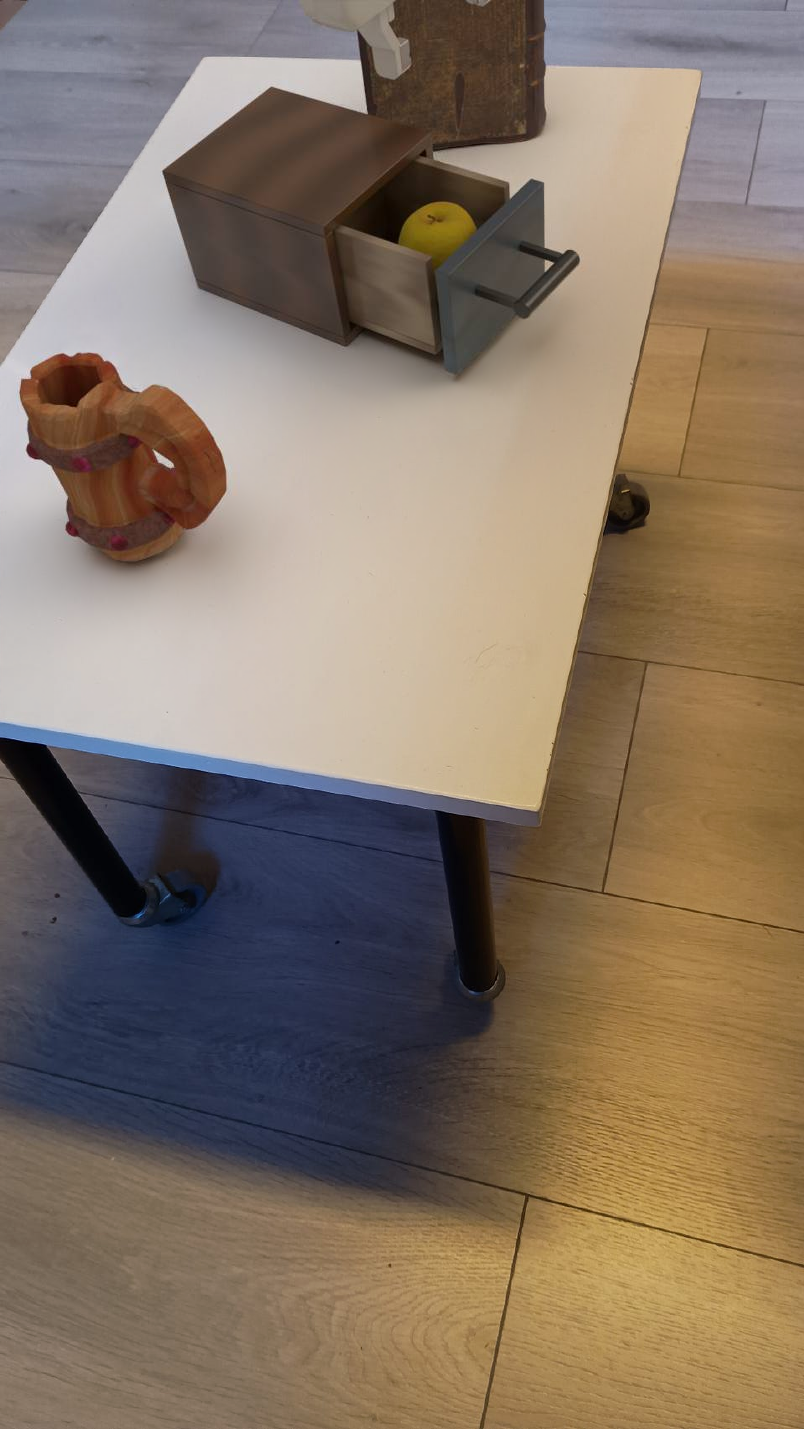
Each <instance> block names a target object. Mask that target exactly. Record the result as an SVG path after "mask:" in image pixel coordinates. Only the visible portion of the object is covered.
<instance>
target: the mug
mask: <svg viewBox="0 0 804 1429" xmlns="http://www.w3.org/2000/svg"><path fill="white" fill-rule="evenodd" d="M29 374H30V378H21V379H20V386H19V392H18V393H19V401H20V403H21V406H22V408H23V410H24V413H25V414H26V416H27V422H26V424H27V426H26V431H27V438H28V443H27V445H26V447H25V452H26V454H27V456H28V457H29V458H31V459H33V460H36V461H37V460H38V461H42V462H44V463H45V464H46V465H48V466H50V467H51V469H52V471H53V472H54V475H55V476H56V478H57V480H58V482H59V483H60V485H61V487H62V489H63V490H64V492H65V494H66V496H67V498H66V506H65V511H66V514H67V518H68V521H67V522H66V524H65V532H66V533H67V534H68V535H69V536H71V537H74V538H79V539H81V540H82V541H83V542H85V543H87V544H88V545H90V546H91V547H95V548H97V549H98V550H100V552H103V553H104V554H105V555H106V556H108V557H109V558H111V559H113V560H114V561H115V560H116V561H122V562H138V561H143V560H145V559H148V558H150V557H152V556H155V555H159V554H160V553H162V552H164V551H166V550H168V549H170V548H171V547H172V546H173V544H175V543H176V542H177V541H178V540H179V539H180V537H181V535H182V533H183V531H184V530H185V531H189V530H193V529H196V528H197V527H199V526H201V525H202V524H203V523H204V522H206V520H207V519H208V518H209V517H210V515H211V514H212V513H213V511H214V510H215V509H216V507H217V506H218V505H219V503H220V502H221V500H222V498H223V497H224V496H225V494H226V493H227V490H228V488H227V485H228V484H227V468H226V465H225V460H224V456H223V454H222V451H221V449H220V448H219V446H218V444H217V442H216V440H215V438H214V436H213V434H212V433H211V431H210V429H209V428H208V426H207V424H206V423H205V422H204V420H202V418H201V417H200V416H199V415H198V413H197V412H195V411H194V410H193V408H192V407H191V406H190V405H189V404H188V403H187V402H186V401H185V400H184V399H183V398H182V397H181V396H180V395H179V394H177V393H176V392H174V391H173V390H171V389H170V388H168V387H167V386H164V385H160V384H151V385H149V386H148V387H147V388H145V389H144V390H142V391H141V392H140V391H137V390H136V391H134V390H133V389H131V388H130V387H129V386H127V385H126V384H124V383H123V381H122V379H121V377H120V374H119V372H118V371H117V368H116V366H115V365H114V364H113V363H112V362H110V360H104V359H103V356H101V355H100V354H98V353H97V352H96V353H95V352H84V353H82V352H76V353H75V354H74V355H73V356H70V355H68V354H66V353H64V352H61V353H57V354H55V355H52V356H50V357H49V358H46V359H45V360H43V361H41V362H39V363H37V364H36V365H34V366H32V367H31V369H30V371H29ZM155 452H156V453H158V454H159V455H160V456H162V457H163V458H165V459H166V460H168V461H169V462H170V463H172V464H173V467H169V466H167V465H165V464H164V463H162V462H159V460H158V458H157V456H156V453H155Z"/></svg>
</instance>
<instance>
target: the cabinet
mask: <svg viewBox="0 0 804 1429" xmlns="http://www.w3.org/2000/svg"><path fill="white" fill-rule="evenodd" d="M418 155H419V156H423V157H426V158H429V159H433V160H435V158H434V149H433V146H432V137H431V132H428V131H424V130H421V129H417V128H414V127H410V126H407V125H403V124H400V123H396V122H393V121H389V120H386V119H382V118H379V117H375V116H372V115H368V113H366V112H365V113H364V112H361V111H357V110H355V109H352V108H351V109H350V108H348V107H345V106H340V105H337V104H333V103H331V102H328V101H327V102H326V101H323V100H319V99H316V98H312V97H309V96H306V95H302V94H299V93H295V92H292V91H288V90H285V89H282V88H278V87H274V86H270V87H268V88H267V89H266V90H265V91H263V92H262V93H260V94H259V95H258V96H257V97H255V98H254V99H253V100H251V101H250V102H248V104H246V105H245V106H244V107H243V108H241V109H240V110H238V111H237V112H236V113H235V114H233V115H232V116H231V117H229V118H227V120H226V121H224V122H223V123H222V124H220V125H219V126H218V127H217V128H215V129H214V130H213V131H212V132H210V133H209V134H208V135H206V136H205V137H203V138H202V139H201V140H200V141H198V142H197V143H196V144H195V145H194V146H192V147H190V149H189V148H188V150H187V151H185V152H184V153H183V154H182V155H180V156H179V157H178V158H176V159H175V160H174V161H172V162H171V163H170V164H169V165H167V166H166V167H165V168H163V169H162V170H161V174H162V175H163V179H164V183H165V187H166V189H167V192H168V196H169V200H170V202H171V206H172V208H173V212H174V215H175V219H176V222H177V224H178V228H179V232H180V234H181V238H182V241H183V244H184V247H185V251H186V254H187V257H188V260H189V264H190V267H191V271H192V273H193V277H194V279H195V283H196V286H197V288H199V289H202V290H204V291H206V292H208V293H212V294H214V295H217V296H219V297H221V298H224V299H227V300H229V301H231V302H234V303H236V304H239V305H241V306H244V307H247V308H249V309H251V310H254V311H257V312H259V313H262V314H265V315H267V316H269V317H271V318H274V319H276V320H279V321H281V322H284V323H286V324H289V325H292V326H294V327H296V328H300V329H302V330H304V331H306V332H309V333H311V334H314V335H317V336H319V337H321V338H324V339H327V340H329V341H332V342H335V343H337V344H340V345H342V346H344V347H347V346H348V345H349V344H350V343H351V342H352V341H354V340H355V338H356V337H357V336H358V335H359V334H361V333H362V332H363V331H364V330H365V329H366V328H365V327H362V326H360V325H357V324H355V323H352V322H349V319H348V314H347V308H346V303H345V297H344V292H343V287H342V281H341V276H340V270H339V265H338V259H337V254H336V248H335V243H334V238H333V232H332V231H333V230H334V229H335V228H336V227H337V226H338V225H339V224H341V223H342V222H343V221H344V220H345V219H346V218H347V217H349V216H350V215H351V214H352V213H353V212H354V211H355V210H357V209H358V208H359V207H360V206H361V205H362V204H363V203H364V202H366V201H367V200H368V199H369V198H370V197H371V196H372V195H374V194H375V193H376V192H377V191H378V190H379V189H380V188H382V187H383V186H384V185H385V184H386V183H387V182H388V181H389V180H391V179H392V178H393V177H394V176H395V175H396V174H397V173H399V172H400V171H401V170H402V169H403V168H404V167H405V166H407V165H408V164H409V163H410V162H411V161H412V160H413V159H414V158H416V157H417V156H418Z"/></svg>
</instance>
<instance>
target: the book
mask: <svg viewBox="0 0 804 1429" xmlns="http://www.w3.org/2000/svg"><path fill="white" fill-rule="evenodd" d="M393 7H394V15H395V17H394V20H392V21H391V22H389V25H390V27H391V29H392V30H393V32H394V34H395V36H396V37H397V38H399V37H401V38H405V39H409V46H410V53H409V56H410V58H411V63H412V64H411V66H410V67H409V68H408V69H407V70H406V71H405V72H404V73H402V74H401V75H400V76H399V77H397V78H396V79H394V80H393V79H389V78H385V77H382V76H380V75H379V74H378V73H377V72H376V69H375V64H374V58H373V52H372V46H370V45H369V44H368V43H367V41H366V40H365V39H364V37H363V36H362V35H361V33H360V32H359V31H358V30H357V31H356V34H357V43H358V51H359V60H360V67H361V73H362V74H361V75H362V82H363V90H364V97H365V98H364V99H365V105H366V114H368V115H372V116H375V117H379V118H382V119H386V120H389V121H393V122H396V123H400V124H403V125H407V126H410V127H414V128H417V129H421V130H424V131H428V132H431V137H432V146H433V150H441V149H445V148H451V147H463V146H470V145H478V144H508V143H517V142H522V141H528V140H530V139H531V138H533V136H537V135H538V134H539V133H540V132H541V131H542V130H543V129H544V127H545V124H546V121H547V110H546V103H545V77H546V72H547V71H546V70H547V63H546V61H545V32H546V28H547V24H546V23H547V22H546V19H545V0H490V1H489V2H488V3H487V4H485V5H484V6H478V4H469V3H468V2H467V1H466V0H396V1H394V2H393Z"/></svg>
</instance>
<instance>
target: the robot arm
mask: <svg viewBox="0 0 804 1429" xmlns="http://www.w3.org/2000/svg"><path fill="white" fill-rule="evenodd" d="M394 1H396V0H299V4H300V8H301V10H302V11H303V13H304V14H305V15H306V16H307V17H308V18H309V19H310V20H311V21H312V22H313V23H314V24H316V25H318V26H321V27H325V28H328V29H333V30H336V31H341V32H342V31H343V32H348V33H354V32H357V30H358V31H359V32H360V33H361V35H362V36H363V37H364V39H365V40H366V41H367V43H368V44H369V45H370V46H372V52H373V58H374V64H375V69H376V72H377V73H378V74H379V75H380V76H382V77H385V78H389V79H393V80H394V79H396V78H397V77H399V76H400V75H401V74H402V73H404V72H405V71H406V70H407V69H408V68H409V67H410V66H411V64H412V63H411V58H410V56H409V53H410V46H409V39H405V38H401V37H399V38H397V37H396V36H395V34H394V32H393V30H392V29H391V27H390V25H389V22H391V21H392V20H394V17H395V15H394V7H393V2H394ZM466 1H467V2H468V3H469V4H478V6H484V5H485V4H487V3H488V2H489V1H490V0H466Z"/></svg>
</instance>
